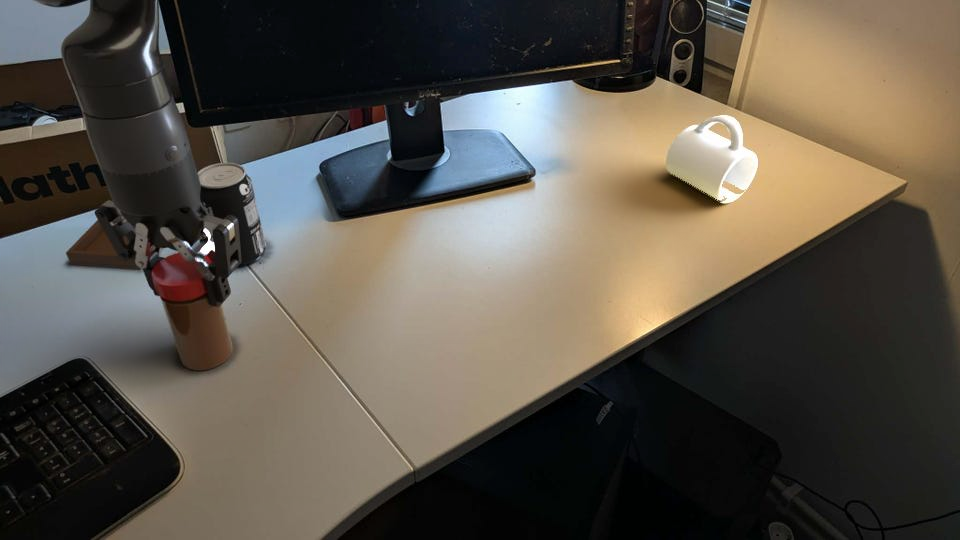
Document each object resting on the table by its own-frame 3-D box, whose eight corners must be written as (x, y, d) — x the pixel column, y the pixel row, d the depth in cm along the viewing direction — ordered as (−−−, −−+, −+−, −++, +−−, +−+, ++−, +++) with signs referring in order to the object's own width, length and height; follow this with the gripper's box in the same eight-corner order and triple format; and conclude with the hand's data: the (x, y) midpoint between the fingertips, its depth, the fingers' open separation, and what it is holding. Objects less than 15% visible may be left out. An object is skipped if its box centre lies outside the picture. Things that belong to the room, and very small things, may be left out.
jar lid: (143, 288, 66) (137, 273, 65) (191, 258, 70) (187, 244, 69) (183, 308, 64) (178, 293, 63) (230, 277, 68) (226, 262, 67)
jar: (171, 368, 71) (145, 290, 64) (193, 334, 75) (170, 258, 69) (221, 372, 70) (199, 294, 64) (240, 338, 75) (221, 262, 68)
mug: (696, 166, 107) (714, 96, 100) (749, 194, 100) (772, 121, 93) (660, 180, 103) (675, 108, 96) (712, 210, 97) (733, 136, 89)
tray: (71, 265, 85) (65, 252, 83) (109, 224, 92) (104, 212, 91) (140, 269, 84) (135, 257, 83) (173, 228, 91) (169, 216, 90)
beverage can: (205, 254, 87) (181, 174, 79) (249, 233, 91) (230, 155, 83) (232, 276, 83) (209, 194, 76) (277, 253, 87) (259, 173, 80)
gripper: (240, 141, 60) (273, 285, 70) (101, 122, 62) (153, 264, 73) (192, 182, 54) (236, 333, 64) (41, 159, 56) (107, 308, 67)
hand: (192, 296), depth 68 cm, fingers closed on jar lid, 6 cm apart
